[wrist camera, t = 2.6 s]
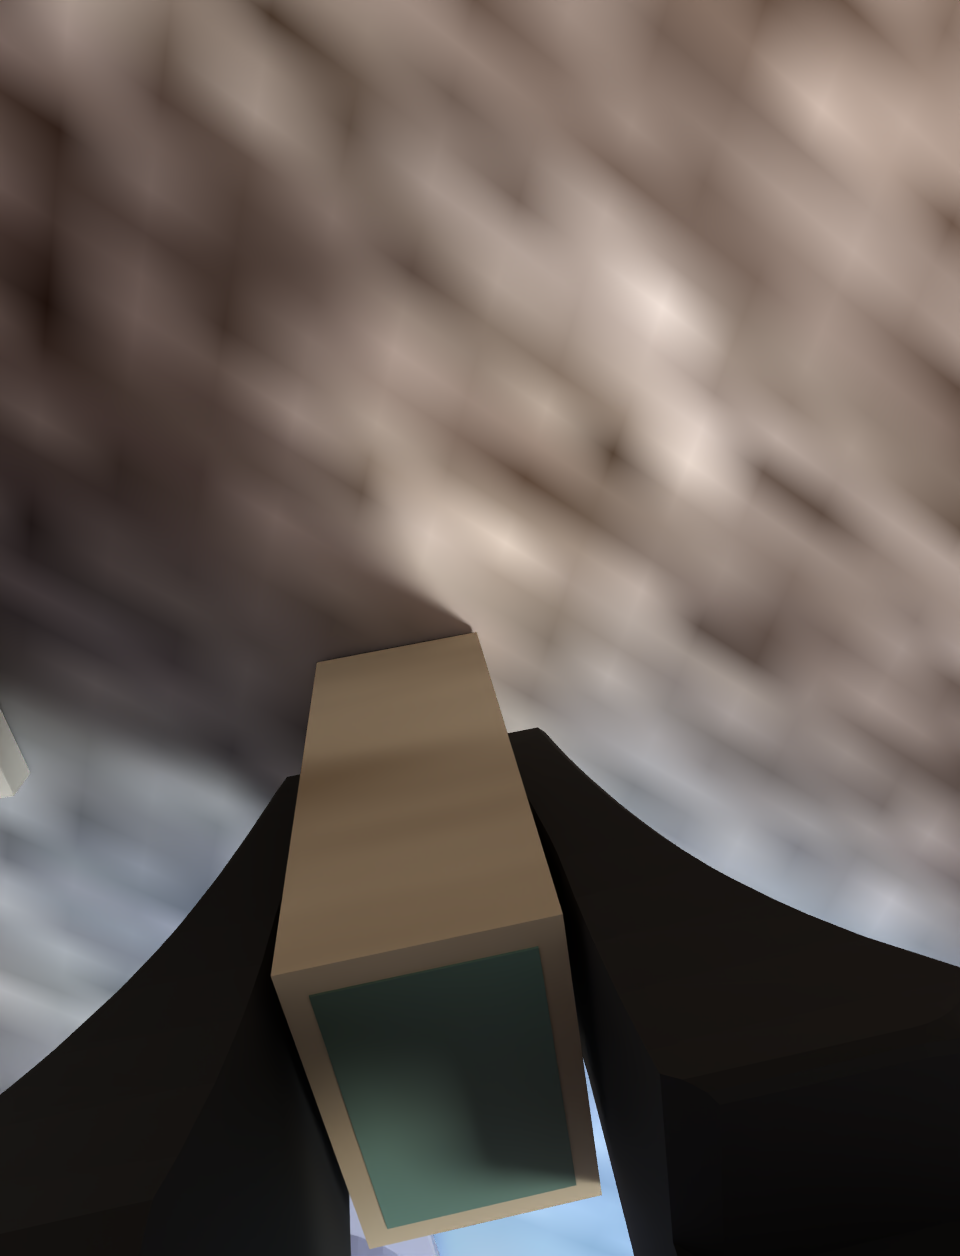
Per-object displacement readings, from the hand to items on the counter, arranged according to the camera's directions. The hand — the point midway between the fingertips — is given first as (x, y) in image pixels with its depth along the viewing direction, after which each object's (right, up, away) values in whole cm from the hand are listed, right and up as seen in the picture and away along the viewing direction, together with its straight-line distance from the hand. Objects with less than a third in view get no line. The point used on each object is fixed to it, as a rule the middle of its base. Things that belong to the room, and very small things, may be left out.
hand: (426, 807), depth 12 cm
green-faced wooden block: (0, +1, +1) cm, 1 cm away
